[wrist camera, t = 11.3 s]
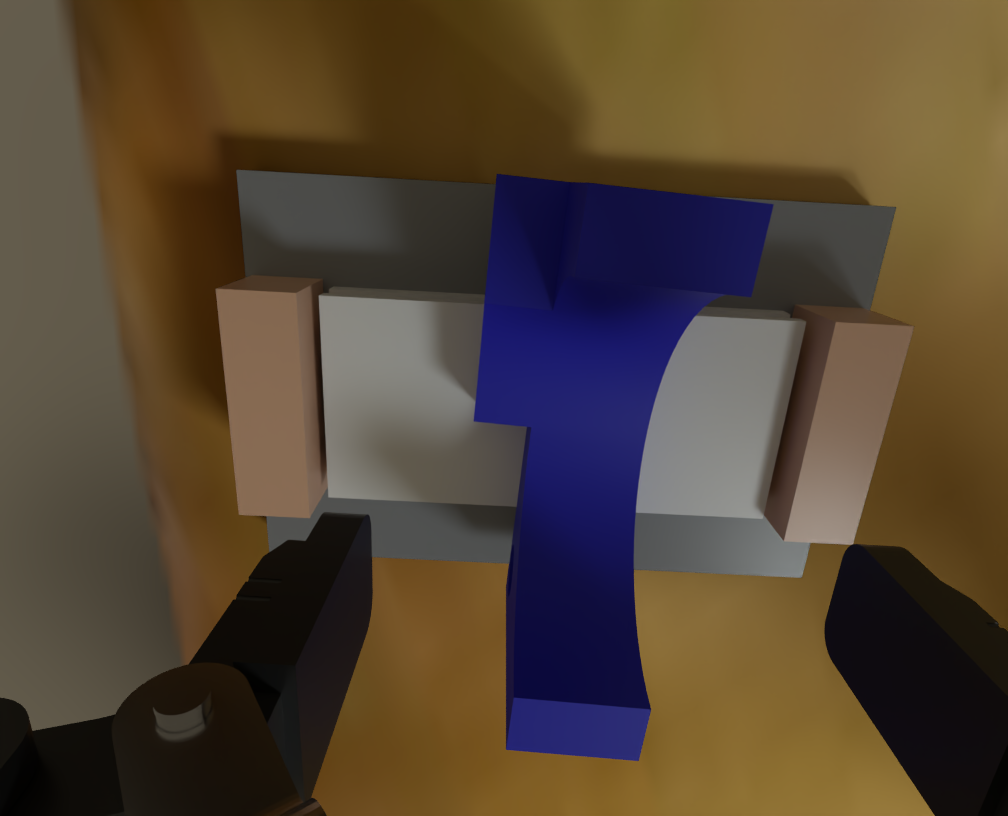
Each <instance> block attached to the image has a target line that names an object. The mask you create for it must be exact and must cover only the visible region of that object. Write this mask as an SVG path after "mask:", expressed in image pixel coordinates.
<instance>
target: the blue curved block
mask: <svg viewBox="0 0 1008 816" xmlns="http://www.w3.org/2000/svg"><path fill="white" fill-rule="evenodd" d="M773 206H774V204H768V203H759V202H751V201H742V200H733V199H725V198H716V197H707V196H699V195H690V194H681V193H673V192H664V191H655V190H646V189H638V188H629V187H620V186H612V185H603V184H594V183H576V182H563V181H554V180H545V179H537V178H528V177H519V176H511V175H502V174H497V177H496V187H495V198H494V208H493V218H492V228H491V239H490V249H489V259H488V270H487V280H486V290H485V300H484V312H483V325H482V337H481V348H480V359H479V370H478V381H477V391H476V402H475V412H474V422H484V423H493V424H503V425H513V426H523V427H527V430H526V437H525V445H524V453H523V461H522V468H521V476H520V484H519V492H518V499H517V507H516V515H515V522H514V530H513V538H512V545H511V553H510V561H509V569H508V576H507V584H506V750H516V751H528V752H539V753H551V754H563V755H575V756H587V757H599V758H611V759H623V760H634V761H639V757H640V753H641V749H642V745H643V740H644V736H645V732H646V728H647V724H648V720H649V716H650V712H651V708H650V704H649V699H648V695H647V691H646V686H645V681H644V677H643V671H642V665H641V659H640V652H639V644H638V636H637V626H636V615H635V598H634V533H635V516H636V504H637V494H638V485H639V477H640V470H641V463H642V457H643V451H644V446H645V441H646V436H647V431H648V426H649V422H650V418H651V414H652V410H653V407H654V403H655V399H656V396H657V393H658V390H659V387H660V383H661V381H662V378H663V375H664V372H665V370H666V367H667V365H668V362H669V360H670V358H671V355H672V353H673V351H674V349H675V347H676V345H677V343H678V341H679V340H680V338H681V336H682V335H683V333H684V331H685V330H686V328H687V327H688V325H689V324H690V322H691V321H692V320H693V318H694V317H695V316H696V315H697V314H698V313H699V312H700V311H701V310H702V309H703V308H704V307H705V306H706V305H707V304H709V303H710V302H711V301H713V300H715V299H717V298H719V297H720V296H724V295H734V296H743V297H751V296H752V292H753V288H754V284H755V280H756V276H757V272H758V267H759V263H760V259H761V255H762V251H763V247H764V243H765V239H766V234H767V230H768V226H769V222H770V218H771V214H772V210H773Z"/></svg>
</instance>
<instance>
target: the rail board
mask: <svg viewBox="0 0 1008 816" xmlns="http://www.w3.org/2000/svg"><path fill="white" fill-rule="evenodd" d="M236 172H237V184H238V195H239V207H240V218H241V230H242V241H243V253H244V264H245V276H246V278H243V279H240V280H238V281H235V282H232V283H230V284H227V285H224V286H221V287H219V288H216V298H217V307H218V317H219V326H220V336H221V346H222V355H223V365H224V375H225V384H226V394H227V403H228V413H229V423H230V432H231V442H232V452H233V461H234V471H235V481H236V490H237V500H238V509H239V515H255V516H266V517H267V529H268V540H269V552H271V551H272V550H274V549H275V548H277V547H278V546H279V545H281V544H282V543H284V542H285V541H287V540H302V541H306V539H307V538H308V536H309V534H310V533H311V531H312V529H313V528H314V526H315V524H316V523H317V521H318V519H319V518H320V516H321V515H322V513H324V512H336V513H353V514H368V515H369V516H370V520H371V533H372V557H384V558H405V559H425V560H446V561H467V562H488V563H508V564H509V561H510V553H511V545H512V538H513V530H514V522H515V515H516V507H517V499H518V492H519V484H520V476H521V468H522V461H523V453H524V445H525V437H526V430H527V427H523V426H513V425H503V424H493V423H484V422H474V412H475V402H476V391H477V381H478V370H479V359H480V348H481V337H482V325H483V312H484V300H485V290H486V280H487V270H488V259H489V249H490V239H491V228H492V218H493V208H494V198H495V187H496V184H483V183H465V182H448V181H430V180H412V179H395V178H377V177H359V176H342V175H324V174H306V173H289V172H271V171H253V170H236ZM707 197H713V196H707ZM716 198H725V199H733V200H742V201H751V202H759V203H768V204H774V206H773V210H772V214H771V218H770V222H769V226H768V230H767V234H766V239H765V243H764V247H763V251H762V255H761V259H760V263H759V267H758V272H757V276H756V280H755V284H754V288H753V292H752V296H751V297H743V296H734V295H724V296H720V297H719V298H717V299H715V300H713V301H711V302H710V303H709V304H707V305H706V306H705V307H704V308H703V309H702V310H701V311H700V312H699V313H698V314H697V315H696V316H695V317H694V318H693V320H692V321H691V322H690V324H689V325H688V327H687V328H686V330H685V331H684V333H683V335H682V336H681V338H680V340H679V341H678V343H677V345H676V347H675V349H674V351H673V353H672V355H671V358H670V360H669V362H668V365H667V367H666V370H665V372H664V375H663V378H662V381H661V383H660V387H659V390H658V393H657V396H656V399H655V403H654V407H653V410H652V414H651V418H650V422H649V426H648V431H647V436H646V441H645V446H644V451H643V457H642V463H641V470H640V477H639V485H638V494H637V504H636V516H635V533H634V570H654V571H674V572H695V573H716V574H737V575H757V576H778V577H799V578H802V575H803V571H804V567H805V563H806V559H807V555H808V551H809V547H810V543H827V544H847V545H853V542H854V539H855V535H856V531H857V528H858V524H859V521H860V517H861V514H862V510H863V507H864V503H865V500H866V496H867V492H868V489H869V485H870V482H871V478H872V475H873V471H874V468H875V464H876V461H877V457H878V453H879V450H880V446H881V443H882V439H883V436H884V432H885V429H886V425H887V422H888V418H889V414H890V411H891V407H892V404H893V400H894V397H895V393H896V390H897V386H898V383H899V379H900V375H901V372H902V368H903V365H904V361H905V358H906V354H907V351H908V347H909V344H910V340H911V336H912V333H913V329H914V326H912V325H909V324H906V323H903V322H901V321H898V320H895V319H892V318H889V317H887V316H884V315H881V314H878V313H875V312H873V311H870V308H871V304H872V300H873V296H874V292H875V288H876V284H877V281H878V277H879V273H880V269H881V265H882V261H883V257H884V253H885V249H886V245H887V241H888V237H889V234H890V230H891V226H892V222H893V218H894V214H895V210H896V207H887V206H872V205H854V204H836V203H819V202H801V201H783V200H766V199H748V198H730V197H716Z"/></svg>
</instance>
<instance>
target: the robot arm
mask: <svg viewBox="0 0 1008 816" xmlns="http://www.w3.org/2000/svg"><path fill="white" fill-rule="evenodd" d="M372 595H373V589H372V533H371V520H370V516H369V515H368V514H353V513H336V512H324V513H322V515H321V516H320V518H319V519H318V521H317V523H316V524H315V526H314V528H313V529H312V531H311V533H310V534H309V536H308V538H307V539H306V541H302V540H287V541H285V542H284V543H282V544H281V545H279V546H278V547H277V548H275V549H274V550H272V551H271V552H269V553H268V554H266V555H265V556H263V558H262V559H261V560H260V562H259V563H258V565H257V566H256V568H255V569H254V571H253V572H252V573H251V575H250V576H249V580H248V582H245V584H244V585H243V586H242V588H241V589H240V591H239V592H238V594H237V597H236V600H233V601H232V602H231V604H230V605H229V607H228V608H227V610H226V611H225V613H224V614H223V615H222V617H221V618H220V620H219V621H218V623H217V624H216V626H215V627H214V628H213V630H212V631H211V633H210V634H209V636H208V637H207V639H206V640H205V641H204V643H203V644H202V646H201V647H200V649H199V650H198V652H197V653H196V654H195V656H194V657H193V659H192V660H191V662H190V663H189V665H184V666H181V667H177V668H174V669H171V670H168V671H166V672H163V673H161V674H159V675H157V676H155V677H153V678H151V679H150V680H148V681H147V682H146V683H144V684H142V685H141V686H139V687H138V688H137V689H136V690H135V691H133V692H132V693H131V694H130V695H129V696H128V697H127V698H126V699H125V700H124V702H123V703H122V704H121V706H120V707H119V709H118V710H117V712H116V714H115V715H112V716H107V717H103V718H99V719H94V720H88V721H83V722H79V723H73V724H67V725H63V726H57V727H52V728H46V729H41V730H36V731H32V728H31V724H30V720H29V716H28V714H27V712H26V710H25V708H24V707H23V706H22V705H21V704H19V703H17V702H15V701H13V700H9V699H5V698H0V816H327V815H326V813H325V812H324V810H323V808H322V807H321V805H320V804H319V803H318V801H317V800H316V799H314V798H311V796H312V793H313V790H314V787H315V784H316V781H317V778H318V775H319V772H320V769H321V766H322V763H323V761H324V758H325V755H326V752H327V749H328V746H329V743H330V740H331V737H332V734H333V731H334V728H335V725H336V722H337V719H338V716H339V713H340V710H341V707H342V705H343V702H344V699H345V696H346V693H347V690H348V687H349V684H350V681H351V678H352V675H353V672H354V669H355V666H356V663H357V660H358V657H359V654H360V651H361V648H362V646H363V643H364V640H365V637H366V634H367V630H368V627H369V622H370V616H371V609H372ZM825 642H826V647H827V650H828V653H829V656H830V658H831V660H832V662H833V663H834V665H835V666H836V668H837V669H838V671H839V672H840V674H841V675H842V677H843V678H844V680H845V681H846V683H847V684H848V686H849V687H850V689H851V690H852V692H853V693H854V695H855V696H856V698H857V699H858V701H859V702H860V704H861V705H862V707H863V708H864V710H865V711H866V713H867V714H868V716H869V717H870V719H871V720H872V722H873V723H874V725H875V726H876V728H877V729H878V731H879V732H880V734H881V735H882V737H883V738H884V740H885V741H886V743H887V744H888V746H889V747H890V749H891V750H892V752H893V753H894V755H895V756H896V758H897V759H898V761H899V762H900V764H901V765H902V767H903V768H904V770H905V772H906V773H907V775H908V776H909V778H910V779H911V781H912V782H913V784H914V785H915V787H916V788H917V790H918V791H919V793H920V794H921V796H922V797H923V799H924V800H925V802H926V803H927V805H928V806H929V808H930V809H931V811H932V812H933V814H934V815H935V816H1008V631H1007V630H1006V629H1004V628H999V626H998V622H997V621H996V620H994V619H993V618H992V617H991V616H990V615H989V614H988V613H987V612H986V611H985V610H983V609H982V608H981V607H980V606H979V605H978V604H977V603H976V602H975V601H973V600H972V599H971V598H969V597H967V596H965V595H964V594H962V593H960V592H959V591H957V590H955V589H954V588H952V587H950V586H949V585H947V584H945V583H944V582H942V581H940V580H939V579H938V578H937V577H936V576H935V575H934V574H933V573H932V572H931V571H929V570H928V569H927V568H926V567H925V566H924V565H923V564H922V563H921V562H920V561H919V560H918V559H917V558H915V557H914V556H913V555H912V554H911V553H910V552H909V551H908V550H906V549H905V548H902V547H895V546H878V545H861V544H854V545H851V546H850V547H848V549H847V550H846V551H845V553H844V555H843V558H842V562H841V566H840V569H839V573H838V577H837V580H836V584H835V588H834V591H833V595H832V599H831V602H830V606H829V610H828V613H827V617H826V621H825Z"/></svg>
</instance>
